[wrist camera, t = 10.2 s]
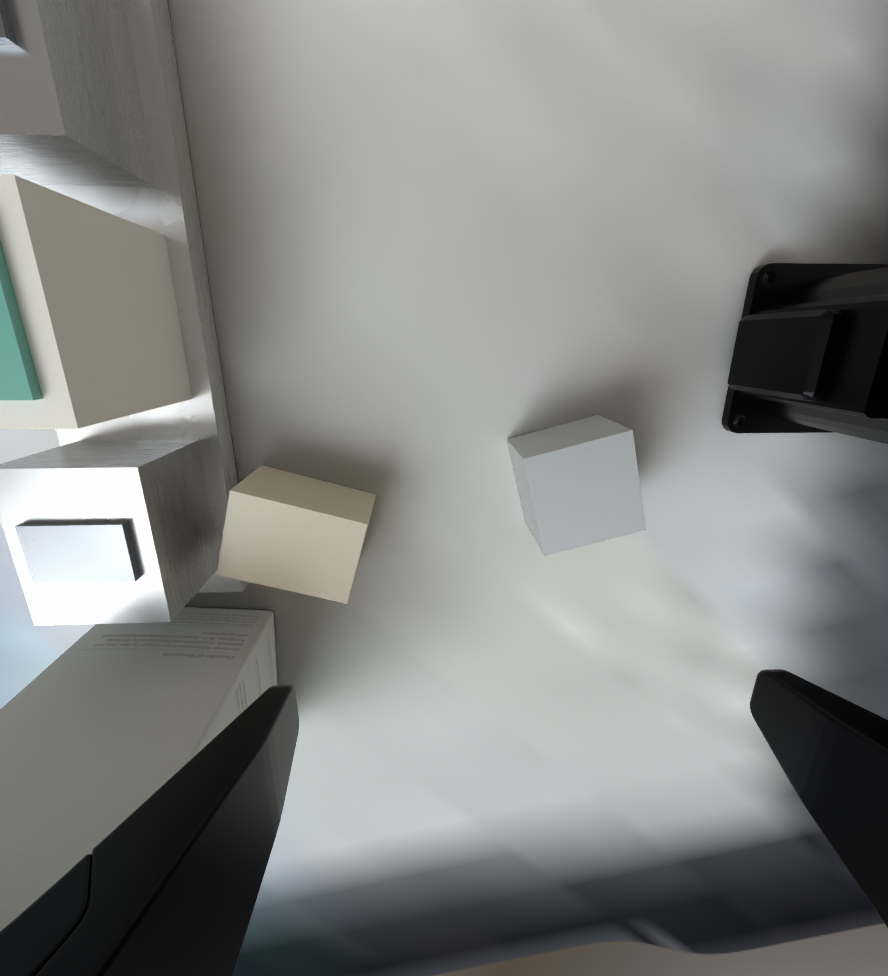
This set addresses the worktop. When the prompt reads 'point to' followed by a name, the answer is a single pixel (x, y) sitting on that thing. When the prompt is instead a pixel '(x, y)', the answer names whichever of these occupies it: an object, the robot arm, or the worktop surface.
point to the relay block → (578, 483)
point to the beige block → (295, 533)
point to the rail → (174, 213)
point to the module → (82, 314)
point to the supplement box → (116, 733)
